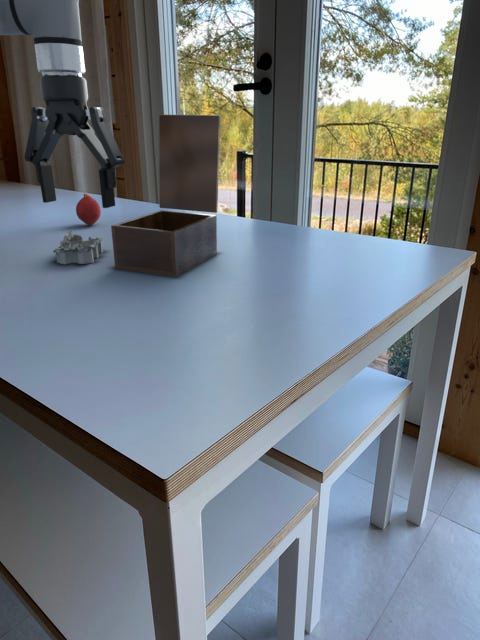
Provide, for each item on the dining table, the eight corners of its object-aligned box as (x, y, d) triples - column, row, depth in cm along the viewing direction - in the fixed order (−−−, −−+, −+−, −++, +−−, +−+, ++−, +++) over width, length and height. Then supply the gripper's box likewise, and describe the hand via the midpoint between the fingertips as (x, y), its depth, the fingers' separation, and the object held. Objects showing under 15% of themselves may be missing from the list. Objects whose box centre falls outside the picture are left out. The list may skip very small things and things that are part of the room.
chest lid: (218, 115, 86) (220, 115, 87) (159, 114, 91) (161, 114, 91) (215, 212, 92) (217, 212, 93) (159, 207, 96) (161, 207, 97)
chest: (176, 277, 81) (174, 232, 78) (115, 268, 86) (110, 225, 83) (216, 254, 95) (216, 215, 92) (162, 247, 100) (160, 210, 97)
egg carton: (72, 250, 97) (69, 230, 95) (108, 251, 97) (106, 231, 95) (50, 264, 87) (47, 242, 86) (91, 265, 87) (88, 243, 85)
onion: (89, 222, 122) (85, 190, 119) (107, 224, 119) (103, 192, 116) (73, 226, 117) (68, 193, 114) (91, 229, 115) (87, 195, 112)
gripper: (138, 75, 78) (147, 205, 87) (22, 78, 87) (41, 196, 95) (110, 71, 72) (123, 212, 80) (-11, 75, 80) (11, 202, 89)
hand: (78, 204), depth 88 cm, fingers open, 13 cm apart
